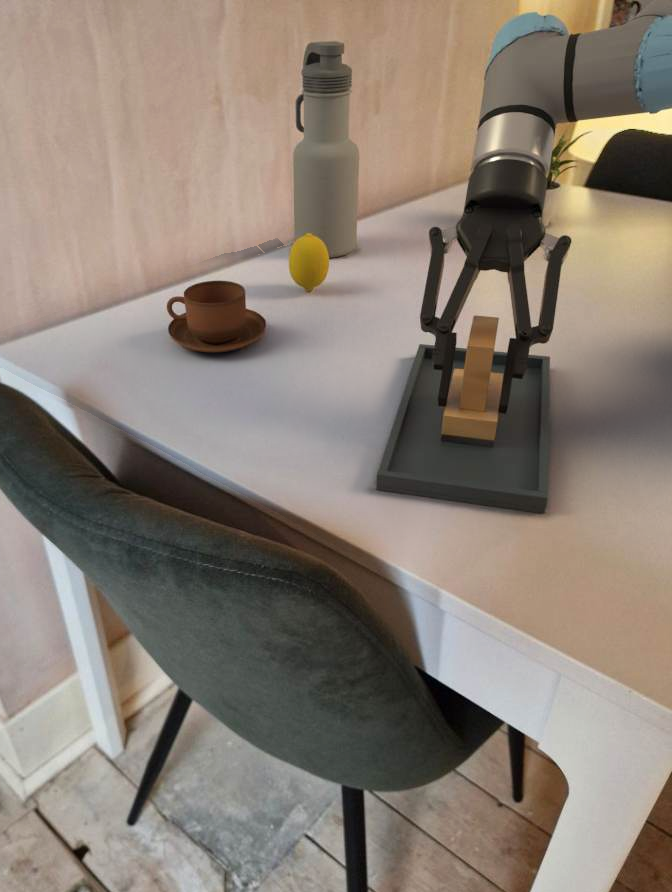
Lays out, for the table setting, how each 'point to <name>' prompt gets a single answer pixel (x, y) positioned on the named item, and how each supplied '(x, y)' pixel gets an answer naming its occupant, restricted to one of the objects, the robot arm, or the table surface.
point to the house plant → (552, 186)
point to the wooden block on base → (475, 390)
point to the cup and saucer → (215, 318)
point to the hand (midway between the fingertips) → (472, 405)
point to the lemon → (308, 262)
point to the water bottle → (326, 152)
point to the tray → (469, 466)
